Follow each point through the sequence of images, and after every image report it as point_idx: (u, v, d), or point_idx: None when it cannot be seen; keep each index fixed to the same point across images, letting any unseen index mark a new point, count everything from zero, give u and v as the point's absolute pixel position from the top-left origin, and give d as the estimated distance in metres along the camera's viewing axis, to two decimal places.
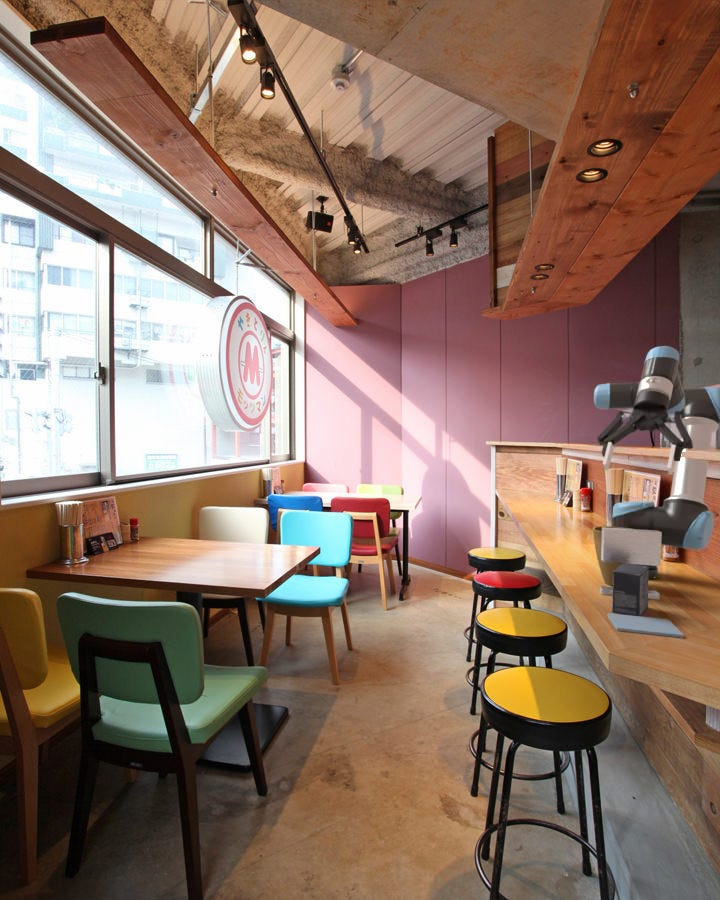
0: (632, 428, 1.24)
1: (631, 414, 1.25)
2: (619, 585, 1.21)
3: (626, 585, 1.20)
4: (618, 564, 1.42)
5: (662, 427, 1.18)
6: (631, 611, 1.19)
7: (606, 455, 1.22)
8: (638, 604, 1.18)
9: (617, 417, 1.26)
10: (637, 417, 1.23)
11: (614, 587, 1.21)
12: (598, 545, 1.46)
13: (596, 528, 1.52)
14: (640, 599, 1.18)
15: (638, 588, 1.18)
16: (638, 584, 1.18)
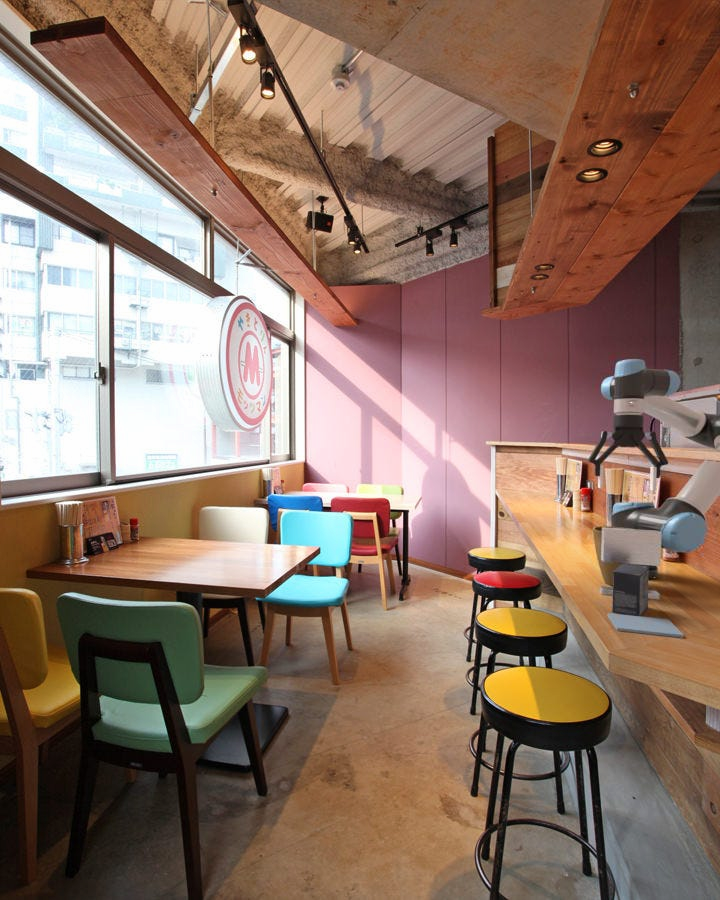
0: None
1: (614, 434, 1.42)
2: (619, 585, 1.21)
3: (626, 585, 1.20)
4: (618, 564, 1.42)
5: (643, 449, 1.40)
6: (631, 611, 1.19)
7: (601, 479, 1.43)
8: (638, 604, 1.18)
9: (603, 438, 1.42)
10: (622, 440, 1.41)
11: (614, 587, 1.21)
12: (598, 545, 1.46)
13: (596, 528, 1.52)
14: (640, 599, 1.18)
15: (638, 588, 1.18)
16: (638, 584, 1.18)
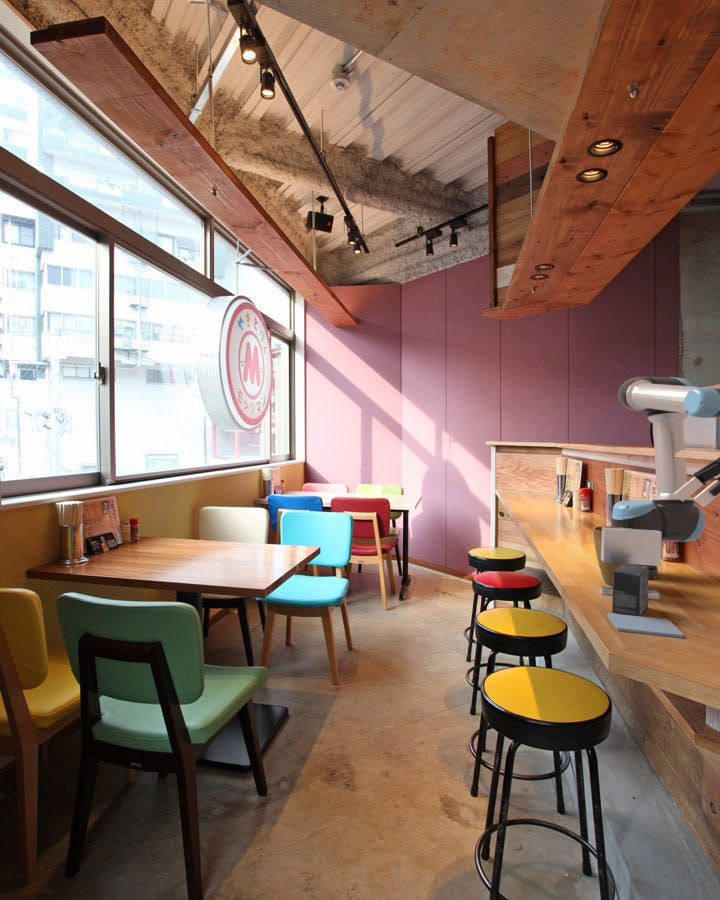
0: None
1: None
2: (619, 585, 1.21)
3: (626, 585, 1.20)
4: (618, 564, 1.42)
5: None
6: (631, 611, 1.19)
7: None
8: (638, 604, 1.18)
9: None
10: None
11: (614, 587, 1.21)
12: (598, 545, 1.46)
13: (596, 528, 1.52)
14: (640, 599, 1.18)
15: (638, 588, 1.18)
16: (638, 584, 1.18)
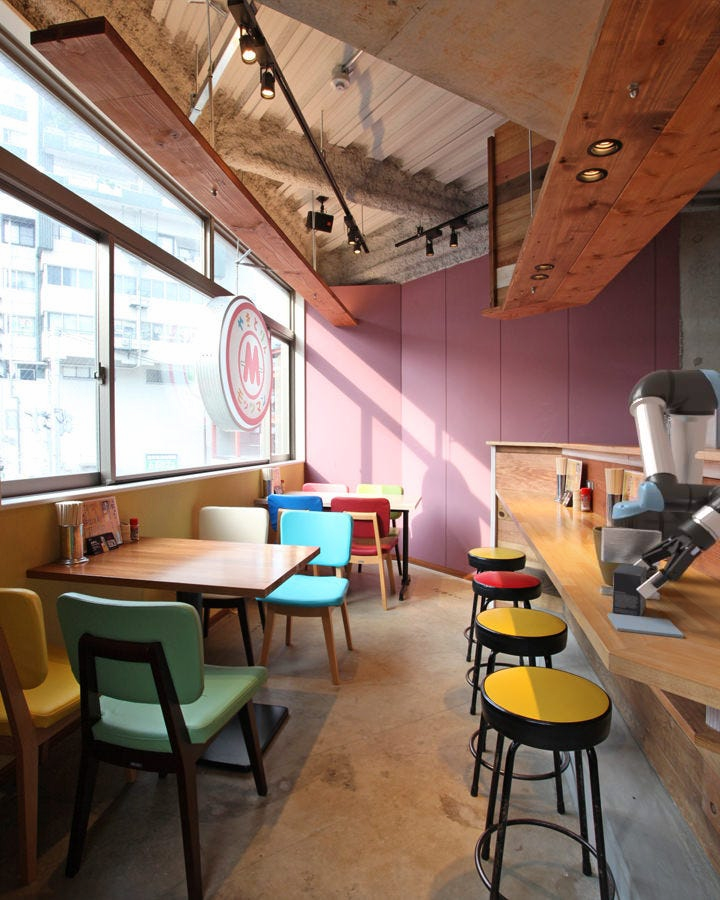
0: None
1: None
2: (619, 586, 1.20)
3: (627, 586, 1.19)
4: (618, 564, 1.42)
5: None
6: (632, 612, 1.19)
7: None
8: (639, 604, 1.18)
9: None
10: None
11: (614, 588, 1.21)
12: (598, 545, 1.46)
13: (596, 528, 1.52)
14: (641, 599, 1.18)
15: None
16: (639, 584, 1.18)
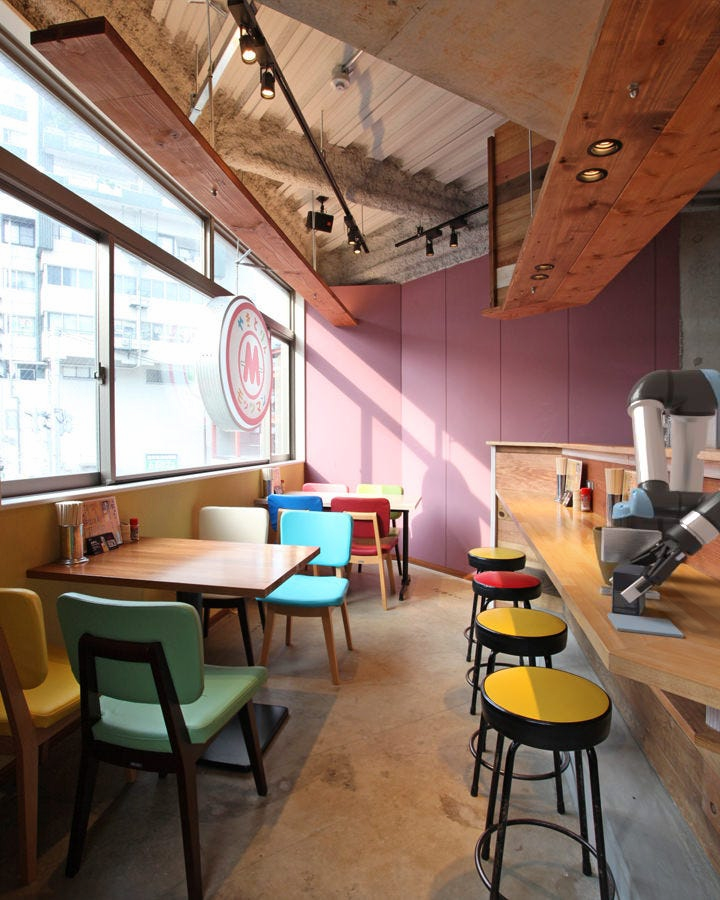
0: None
1: None
2: (618, 585, 1.20)
3: (626, 585, 1.20)
4: (618, 564, 1.42)
5: None
6: (631, 611, 1.19)
7: None
8: (638, 604, 1.18)
9: None
10: None
11: (614, 587, 1.21)
12: (598, 545, 1.46)
13: (596, 528, 1.52)
14: (640, 599, 1.19)
15: None
16: None
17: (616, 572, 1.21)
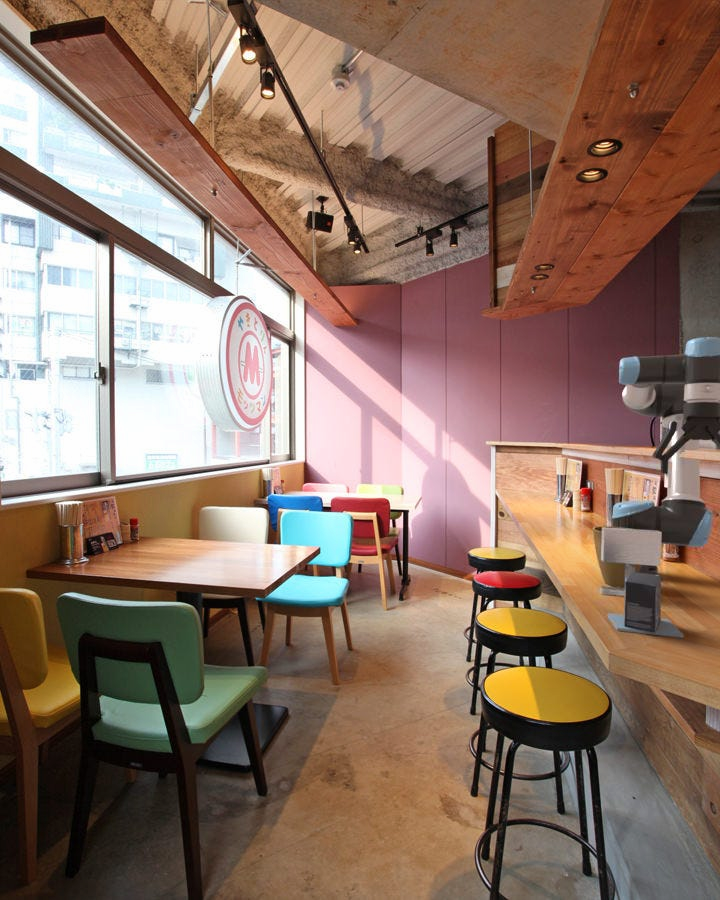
0: None
1: (685, 425, 1.22)
2: (632, 597, 1.09)
3: (640, 597, 1.08)
4: (618, 564, 1.42)
5: None
6: (646, 625, 1.08)
7: (670, 477, 1.22)
8: (653, 617, 1.07)
9: (672, 429, 1.22)
10: (695, 431, 1.20)
11: (626, 599, 1.10)
12: (598, 545, 1.46)
13: (596, 528, 1.52)
14: (655, 612, 1.07)
15: (653, 600, 1.07)
16: (653, 595, 1.07)
17: (629, 582, 1.10)
